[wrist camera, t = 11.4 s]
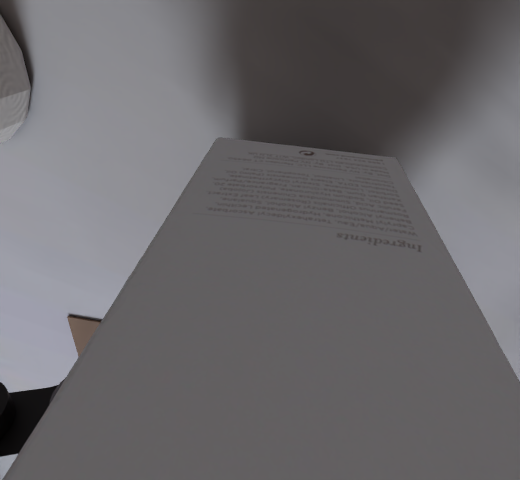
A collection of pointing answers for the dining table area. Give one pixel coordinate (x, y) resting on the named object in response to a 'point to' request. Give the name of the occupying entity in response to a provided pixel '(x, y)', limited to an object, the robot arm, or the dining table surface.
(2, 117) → the paper towel roll
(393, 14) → the dining table surface
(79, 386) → the small box
